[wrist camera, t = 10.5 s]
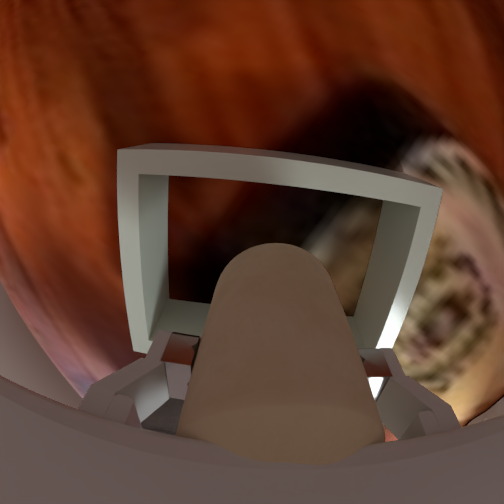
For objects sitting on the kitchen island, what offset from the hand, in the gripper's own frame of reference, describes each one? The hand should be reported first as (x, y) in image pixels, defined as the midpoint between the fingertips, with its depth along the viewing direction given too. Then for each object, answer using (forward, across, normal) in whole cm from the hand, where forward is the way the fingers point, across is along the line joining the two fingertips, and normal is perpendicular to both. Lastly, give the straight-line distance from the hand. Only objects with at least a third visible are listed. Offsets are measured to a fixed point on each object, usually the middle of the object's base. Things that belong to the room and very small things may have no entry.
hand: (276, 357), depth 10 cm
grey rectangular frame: (+10, 0, 0) cm, 10 cm away
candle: (+4, 0, 0) cm, 4 cm away
